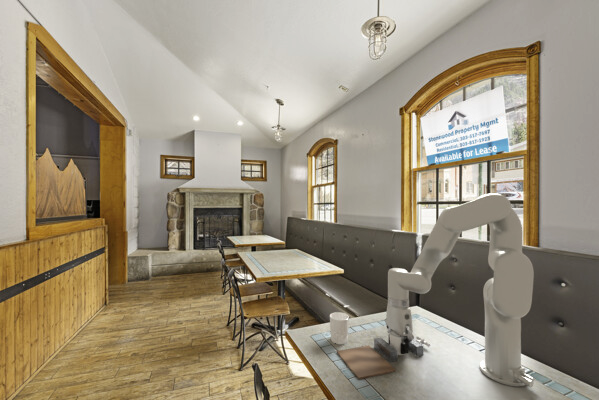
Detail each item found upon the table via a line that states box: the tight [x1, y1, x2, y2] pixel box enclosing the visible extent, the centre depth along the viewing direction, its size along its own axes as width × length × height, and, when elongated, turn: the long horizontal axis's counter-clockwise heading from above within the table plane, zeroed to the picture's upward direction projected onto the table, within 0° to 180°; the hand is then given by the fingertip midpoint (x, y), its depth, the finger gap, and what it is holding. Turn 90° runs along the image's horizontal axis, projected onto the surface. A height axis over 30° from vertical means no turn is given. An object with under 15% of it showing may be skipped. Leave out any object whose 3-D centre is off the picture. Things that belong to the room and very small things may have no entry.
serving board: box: [336, 344, 396, 380], centre depth 95 cm, size 16×14×1 cm
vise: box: [373, 336, 431, 363], centre depth 102 cm, size 10×20×4 cm, turn 108°
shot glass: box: [388, 330, 406, 356], centre depth 102 cm, size 7×7×7 cm
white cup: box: [329, 311, 350, 345], centre depth 109 cm, size 8×8×10 cm
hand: (398, 348), depth 102 cm, fingers closed on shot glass, 6 cm apart
